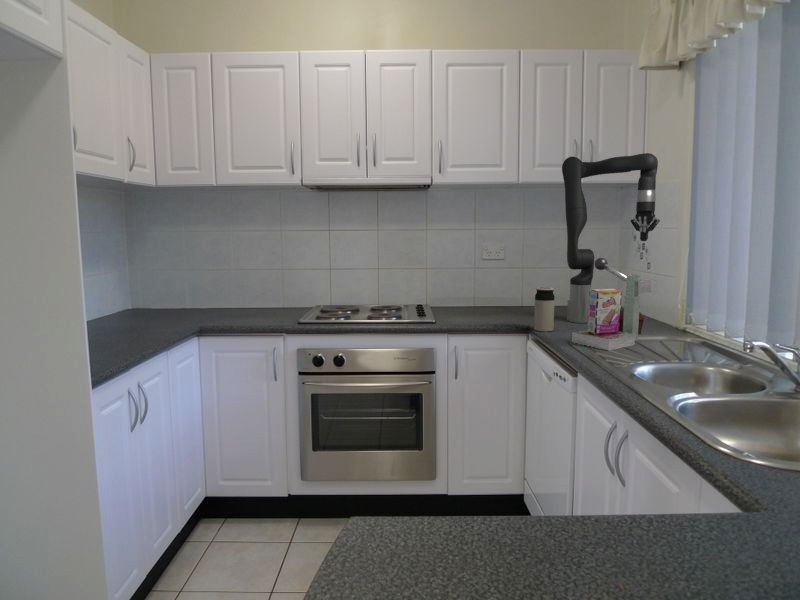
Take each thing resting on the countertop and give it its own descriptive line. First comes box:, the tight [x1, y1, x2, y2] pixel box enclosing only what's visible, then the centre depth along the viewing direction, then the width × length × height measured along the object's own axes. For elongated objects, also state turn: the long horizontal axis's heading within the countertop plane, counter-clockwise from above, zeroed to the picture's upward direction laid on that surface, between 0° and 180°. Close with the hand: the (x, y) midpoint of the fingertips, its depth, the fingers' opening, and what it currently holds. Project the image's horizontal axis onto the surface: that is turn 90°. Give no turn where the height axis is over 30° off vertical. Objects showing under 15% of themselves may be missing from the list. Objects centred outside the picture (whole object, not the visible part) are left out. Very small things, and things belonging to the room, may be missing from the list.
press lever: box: [594, 257, 658, 294], centre depth 218 cm, size 25×5×14 cm, turn 35°
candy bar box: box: [586, 288, 623, 335], centre depth 208 cm, size 11×5×16 cm, turn 110°
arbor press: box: [571, 274, 641, 351], centre depth 211 cm, size 16×26×25 cm, turn 125°
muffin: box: [619, 308, 645, 335], centre depth 229 cm, size 12×11×10 cm
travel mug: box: [533, 286, 556, 333], centre depth 236 cm, size 8×8×18 cm
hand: (643, 241), depth 244 cm, fingers closed
